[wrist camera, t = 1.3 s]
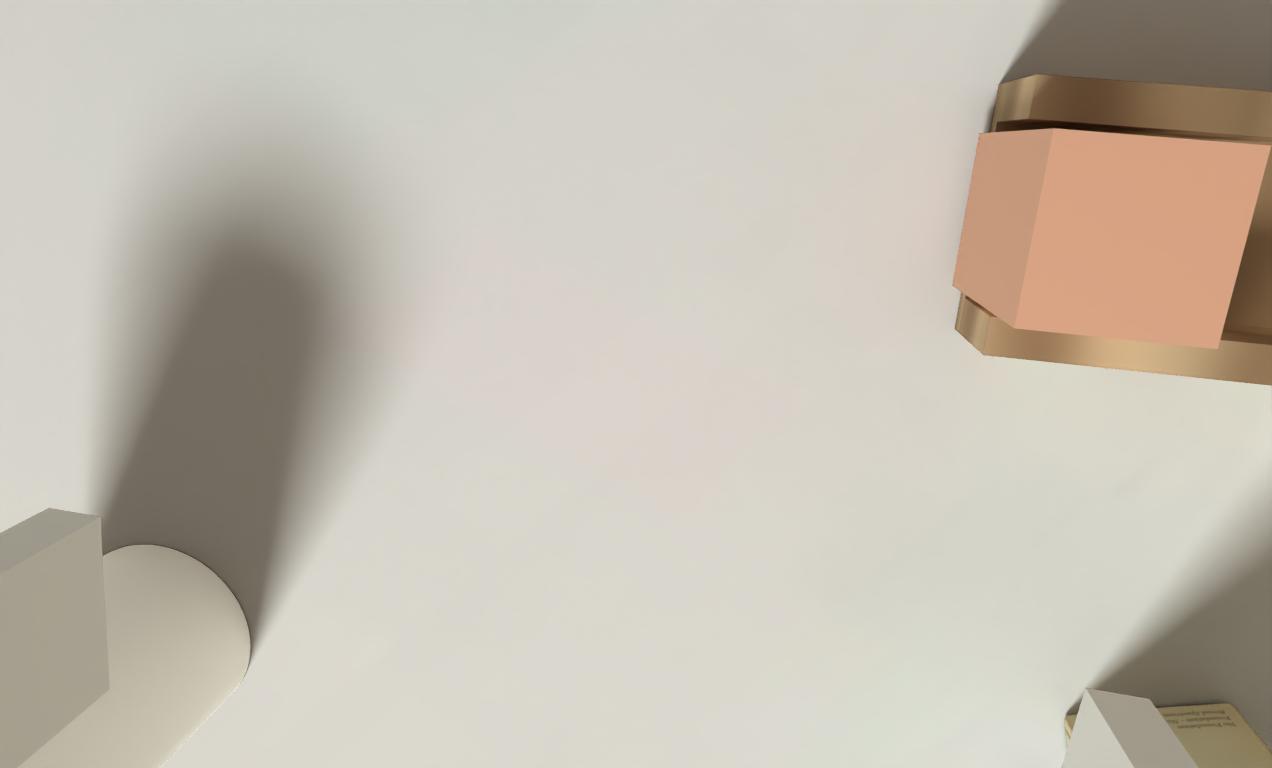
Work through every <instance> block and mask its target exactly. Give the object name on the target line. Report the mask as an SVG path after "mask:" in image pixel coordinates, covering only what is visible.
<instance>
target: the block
mask: <svg viewBox="0 0 1272 768" xmlns="http://www.w3.org/2000/svg"><path fill="white" fill-rule="evenodd" d="M1270 149H1271V146H1270V145H1257V144H1245V143H1232V142H1220V141H1207V140H1194V139H1182V138H1169V137H1157V136H1144V135H1131V134H1119V133H1106V132H1094V131H1081V130H1068V129H1056V128H1052V129H1037V130H1022V131H1007V132H992V133H979V139H978V144H977V150H976V156H975V161H974V167H973V173H972V178H971V184H970V189H969V195H968V201H967V206H966V212H965V217H964V223H963V229H962V234H961V240H960V246H959V251H958V257H957V262H956V268H955V274H954V279H953V285H952V286H954V287H955V288H957V289H958V290H960V291H961V292H962V293H964V294H965V295H967V296H968V297H970V298H971V299H973V300H974V301H975V302H977V303H978V304H980V305H981V306H983V307H984V308H985V309H987V310H988V311H990V312H991V313H993V314H994V315H995V316H997V317H998V318H1000V319H1001V320H1003V321H1004V322H1006V323H1007V324H1008V325H1010V326H1011V327H1013V328H1015V329H1025V330H1035V331H1045V332H1054V333H1064V334H1074V335H1084V336H1093V337H1103V338H1113V339H1123V340H1133V341H1142V342H1152V343H1162V344H1172V345H1181V346H1191V347H1201V348H1211V349H1218V346H1219V342H1220V338H1221V335H1222V331H1223V327H1224V323H1225V319H1226V316H1227V312H1228V308H1229V304H1230V300H1231V297H1232V293H1233V289H1234V285H1235V281H1236V278H1237V274H1238V270H1239V266H1240V263H1241V259H1242V255H1243V251H1244V247H1245V244H1246V240H1247V236H1248V232H1249V228H1250V225H1251V221H1252V217H1253V213H1254V209H1255V206H1256V202H1257V198H1258V194H1259V190H1260V187H1261V183H1262V179H1263V175H1264V171H1265V168H1266V164H1267V160H1268V156H1269V152H1270Z"/></svg>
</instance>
